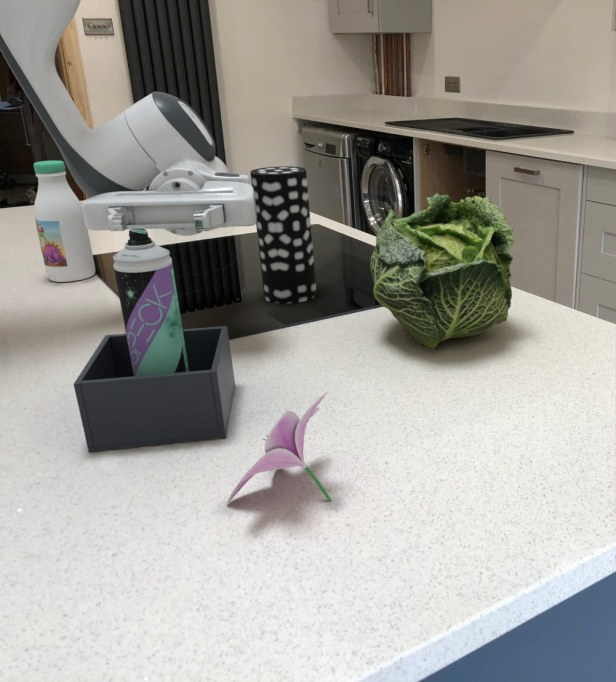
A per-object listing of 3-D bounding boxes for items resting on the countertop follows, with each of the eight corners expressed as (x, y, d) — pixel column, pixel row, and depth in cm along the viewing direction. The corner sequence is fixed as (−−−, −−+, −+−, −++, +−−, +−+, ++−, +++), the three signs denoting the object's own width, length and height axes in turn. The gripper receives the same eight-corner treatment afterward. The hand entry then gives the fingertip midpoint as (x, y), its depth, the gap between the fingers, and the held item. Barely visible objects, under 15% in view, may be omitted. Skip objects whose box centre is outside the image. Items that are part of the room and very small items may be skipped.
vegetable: (414, 395, 100) (406, 296, 84) (354, 303, 110) (337, 200, 95) (535, 338, 106) (549, 236, 90) (467, 256, 117) (469, 152, 101)
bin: (88, 452, 73) (73, 383, 70) (117, 395, 85) (105, 335, 82) (226, 438, 75) (216, 371, 72) (235, 384, 87) (227, 325, 84)
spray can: (138, 406, 81) (105, 227, 74) (190, 395, 83) (163, 221, 76) (144, 426, 77) (109, 239, 69) (198, 415, 79) (170, 232, 72)
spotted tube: (255, 294, 119) (240, 170, 112) (300, 284, 124) (289, 164, 117) (279, 307, 113) (265, 176, 106) (326, 296, 118) (316, 170, 111)
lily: (342, 457, 73) (290, 378, 71) (399, 462, 64) (341, 371, 61) (244, 538, 67) (184, 454, 65) (291, 557, 58) (221, 460, 55)
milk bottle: (89, 268, 135) (67, 157, 128) (101, 277, 130) (79, 161, 122) (43, 276, 130) (17, 161, 123) (54, 285, 125) (28, 166, 118)
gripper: (98, 178, 95) (57, 197, 82) (260, 174, 97) (244, 193, 84) (107, 226, 97) (68, 252, 84) (265, 221, 99) (250, 247, 86)
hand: (158, 223), depth 84 cm, fingers open, 8 cm apart
